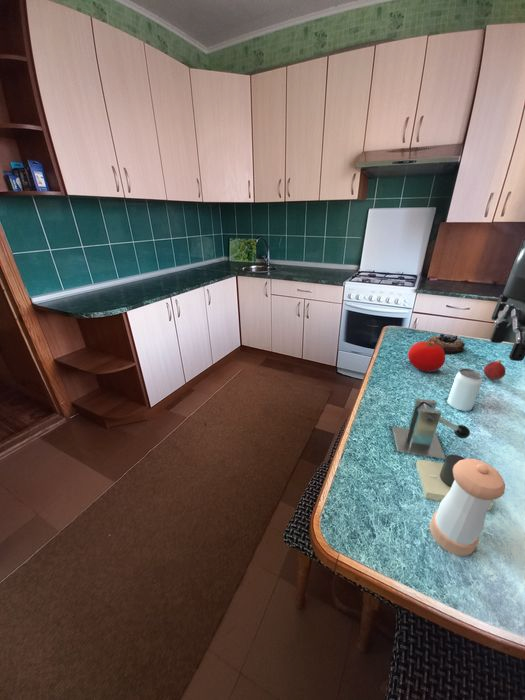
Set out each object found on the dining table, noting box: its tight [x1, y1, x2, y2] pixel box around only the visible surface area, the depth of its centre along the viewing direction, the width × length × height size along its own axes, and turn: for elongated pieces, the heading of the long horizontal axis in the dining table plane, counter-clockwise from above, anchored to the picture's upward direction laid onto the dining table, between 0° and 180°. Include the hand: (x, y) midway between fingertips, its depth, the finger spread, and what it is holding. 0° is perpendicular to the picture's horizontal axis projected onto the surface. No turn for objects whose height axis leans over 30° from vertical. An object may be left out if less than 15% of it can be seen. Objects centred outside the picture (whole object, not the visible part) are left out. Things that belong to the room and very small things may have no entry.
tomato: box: [407, 340, 446, 372], centre depth 108 cm, size 11×12×10 cm
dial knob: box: [440, 454, 466, 487], centre depth 61 cm, size 5×5×5 cm
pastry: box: [427, 333, 466, 355], centre depth 123 cm, size 11×12×6 cm
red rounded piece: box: [483, 359, 506, 381], centre depth 100 cm, size 6×6×8 cm
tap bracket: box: [392, 398, 447, 460], centre depth 73 cm, size 11×9×13 cm
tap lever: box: [417, 403, 471, 440], centre depth 71 cm, size 13×3×3 cm, turn 77°
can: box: [446, 368, 483, 412], centre depth 87 cm, size 6×6×12 cm
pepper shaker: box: [429, 458, 506, 557], centre depth 50 cm, size 7×7×19 cm
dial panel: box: [415, 458, 494, 512], centre depth 63 cm, size 12×9×3 cm
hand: (504, 350), depth 62 cm, fingers open, 8 cm apart
